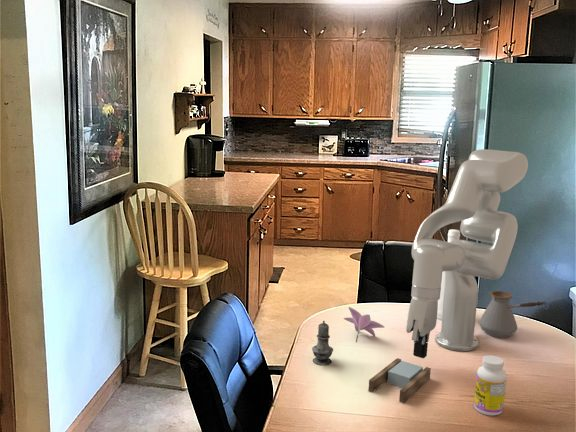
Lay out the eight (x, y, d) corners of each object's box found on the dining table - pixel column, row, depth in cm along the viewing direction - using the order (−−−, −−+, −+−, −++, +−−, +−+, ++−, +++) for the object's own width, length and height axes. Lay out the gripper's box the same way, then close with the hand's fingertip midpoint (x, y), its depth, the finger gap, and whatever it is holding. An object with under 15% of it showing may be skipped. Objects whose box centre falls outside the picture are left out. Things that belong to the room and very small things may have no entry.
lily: (386, 348, 179) (391, 316, 182) (356, 339, 173) (362, 307, 176) (360, 346, 189) (365, 315, 191) (331, 338, 183) (336, 307, 186)
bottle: (457, 323, 196) (466, 234, 190) (433, 319, 199) (440, 231, 193) (460, 315, 204) (467, 229, 197) (436, 311, 206) (443, 226, 200)
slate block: (401, 372, 162) (401, 360, 161) (421, 379, 158) (422, 367, 158) (387, 383, 156) (388, 371, 155) (408, 390, 152) (409, 378, 151)
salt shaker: (331, 367, 163) (333, 325, 161) (310, 364, 165) (311, 323, 162) (334, 357, 169) (335, 317, 167) (313, 355, 170) (314, 315, 168)
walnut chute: (396, 368, 164) (397, 358, 163) (429, 378, 158) (430, 368, 158) (368, 391, 151) (369, 380, 150) (403, 403, 145) (404, 391, 145)
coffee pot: (470, 330, 191) (474, 285, 188) (493, 323, 197) (498, 279, 194) (529, 355, 174) (535, 306, 171) (553, 347, 180) (559, 299, 177)
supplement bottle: (469, 402, 147) (474, 353, 144) (495, 402, 147) (500, 353, 145) (480, 417, 140) (485, 366, 137) (507, 416, 141) (513, 365, 138)
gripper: (423, 282, 168) (418, 344, 172) (400, 294, 156) (395, 361, 160) (449, 288, 164) (443, 351, 167) (428, 301, 152) (421, 369, 155)
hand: (419, 356), depth 164 cm, fingers closed
